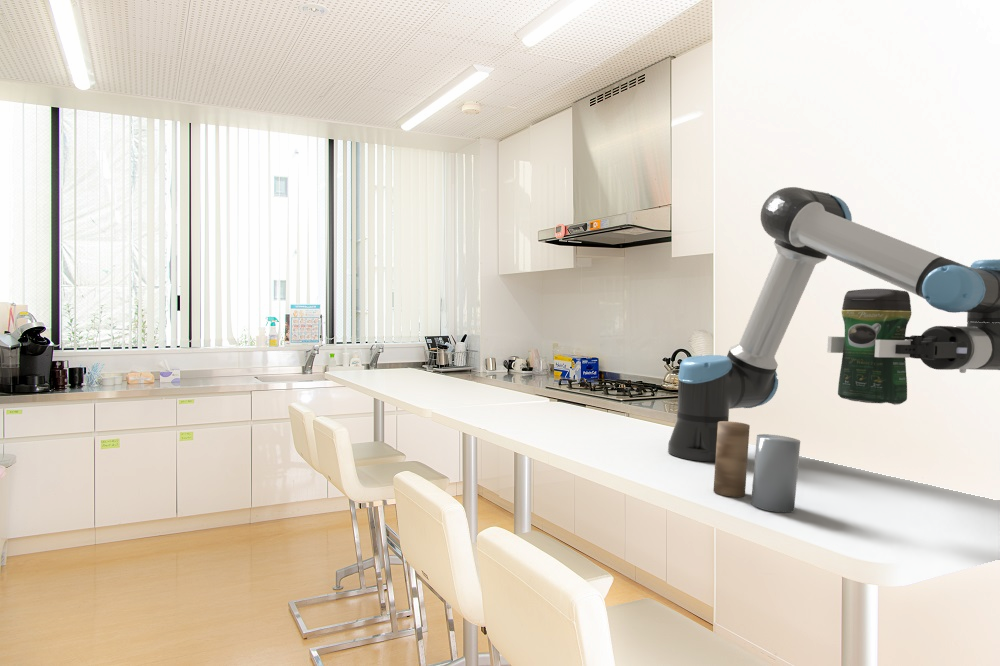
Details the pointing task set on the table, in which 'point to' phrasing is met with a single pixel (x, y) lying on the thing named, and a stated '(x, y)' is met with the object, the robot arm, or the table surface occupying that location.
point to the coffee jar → (873, 346)
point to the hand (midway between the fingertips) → (852, 346)
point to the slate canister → (775, 473)
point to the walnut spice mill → (731, 458)
